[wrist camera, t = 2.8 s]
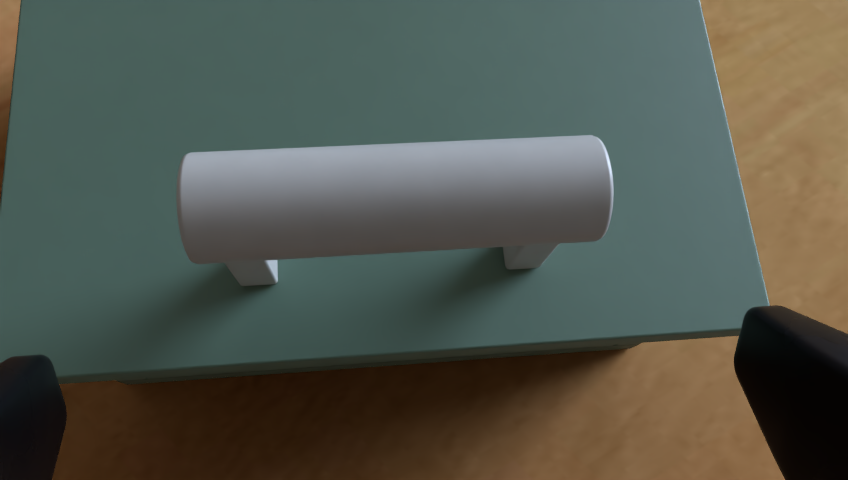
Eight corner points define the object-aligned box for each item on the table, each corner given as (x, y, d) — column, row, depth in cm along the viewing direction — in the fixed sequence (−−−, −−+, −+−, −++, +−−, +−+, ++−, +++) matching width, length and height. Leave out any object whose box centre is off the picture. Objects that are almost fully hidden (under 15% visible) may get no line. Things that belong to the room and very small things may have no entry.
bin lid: (754, 334, 15) (936, 273, 10) (3, 388, 13) (-199, 346, 9) (648, -147, 18) (744, -359, 14) (52, -144, 17) (-70, -377, 12)
